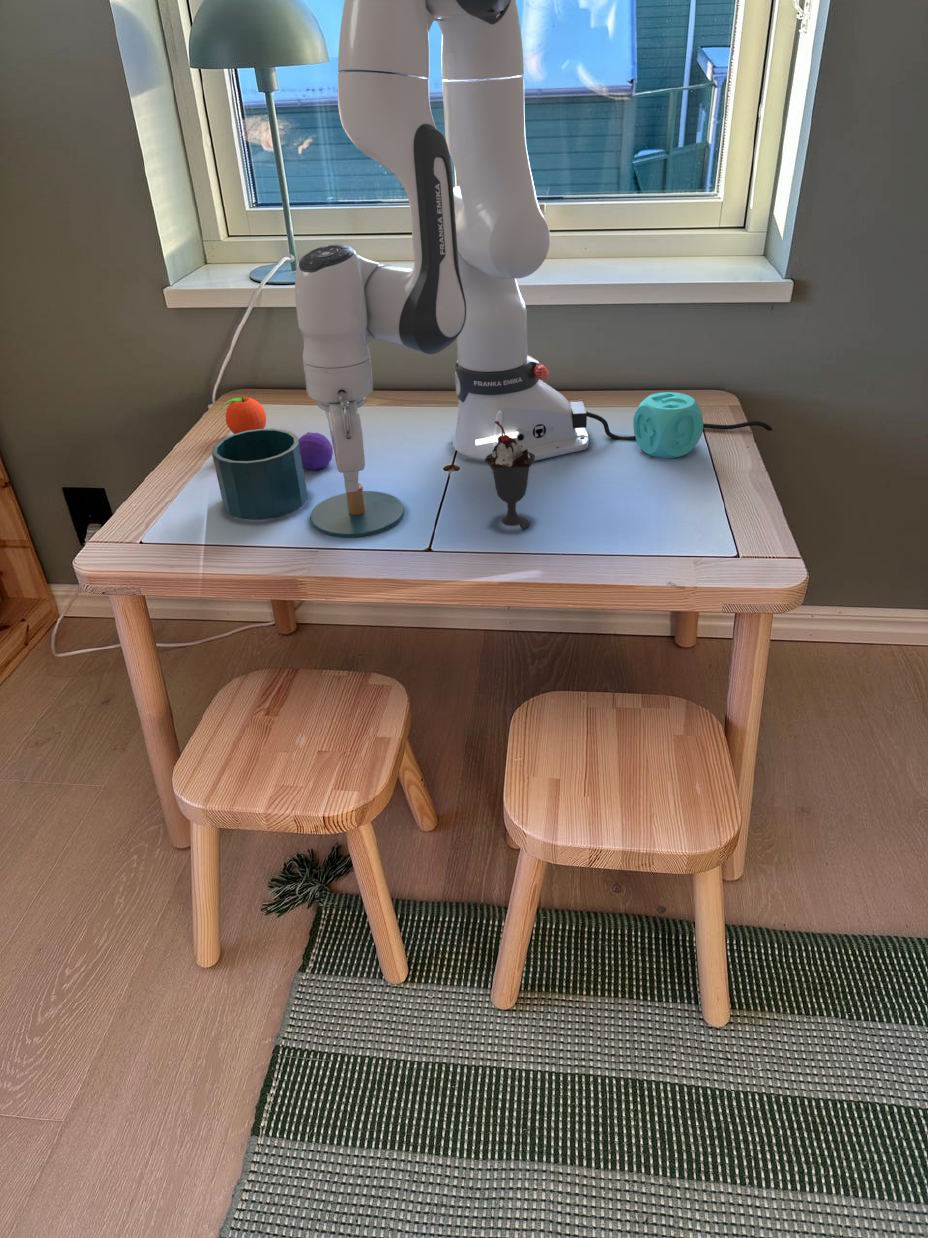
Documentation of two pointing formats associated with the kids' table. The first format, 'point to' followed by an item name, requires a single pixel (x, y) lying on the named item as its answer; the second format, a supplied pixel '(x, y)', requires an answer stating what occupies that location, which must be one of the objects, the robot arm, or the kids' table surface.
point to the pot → (260, 473)
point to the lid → (357, 513)
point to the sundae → (510, 475)
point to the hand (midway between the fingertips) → (349, 475)
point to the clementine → (245, 415)
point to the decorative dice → (668, 424)
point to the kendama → (315, 451)
